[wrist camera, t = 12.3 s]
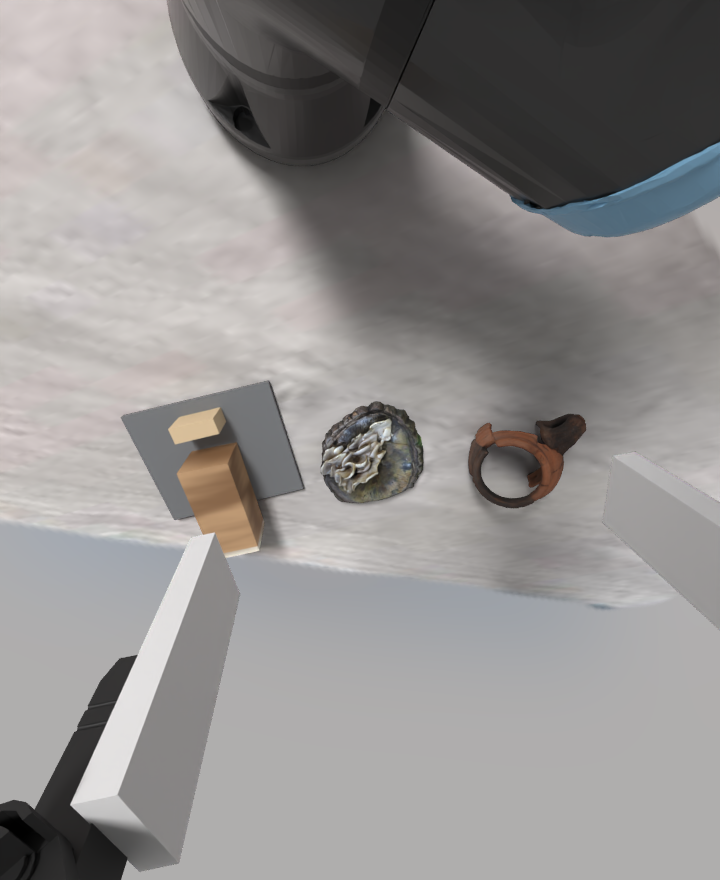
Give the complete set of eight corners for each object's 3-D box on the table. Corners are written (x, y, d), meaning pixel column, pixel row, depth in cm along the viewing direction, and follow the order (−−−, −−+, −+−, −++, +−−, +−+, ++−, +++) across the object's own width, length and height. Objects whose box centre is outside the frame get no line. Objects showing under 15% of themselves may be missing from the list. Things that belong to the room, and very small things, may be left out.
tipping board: (123, 415, 36) (104, 430, 33) (268, 380, 36) (264, 391, 33) (176, 516, 41) (164, 538, 38) (303, 485, 41) (302, 504, 38)
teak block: (176, 473, 33) (214, 560, 38) (227, 463, 34) (259, 550, 38) (191, 451, 37) (223, 531, 42) (236, 442, 38) (264, 523, 42)
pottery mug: (516, 497, 46) (511, 533, 39) (457, 442, 46) (442, 468, 39) (605, 431, 40) (619, 459, 32) (536, 369, 40) (535, 384, 33)
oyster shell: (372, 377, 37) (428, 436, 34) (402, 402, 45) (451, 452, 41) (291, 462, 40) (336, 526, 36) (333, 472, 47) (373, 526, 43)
